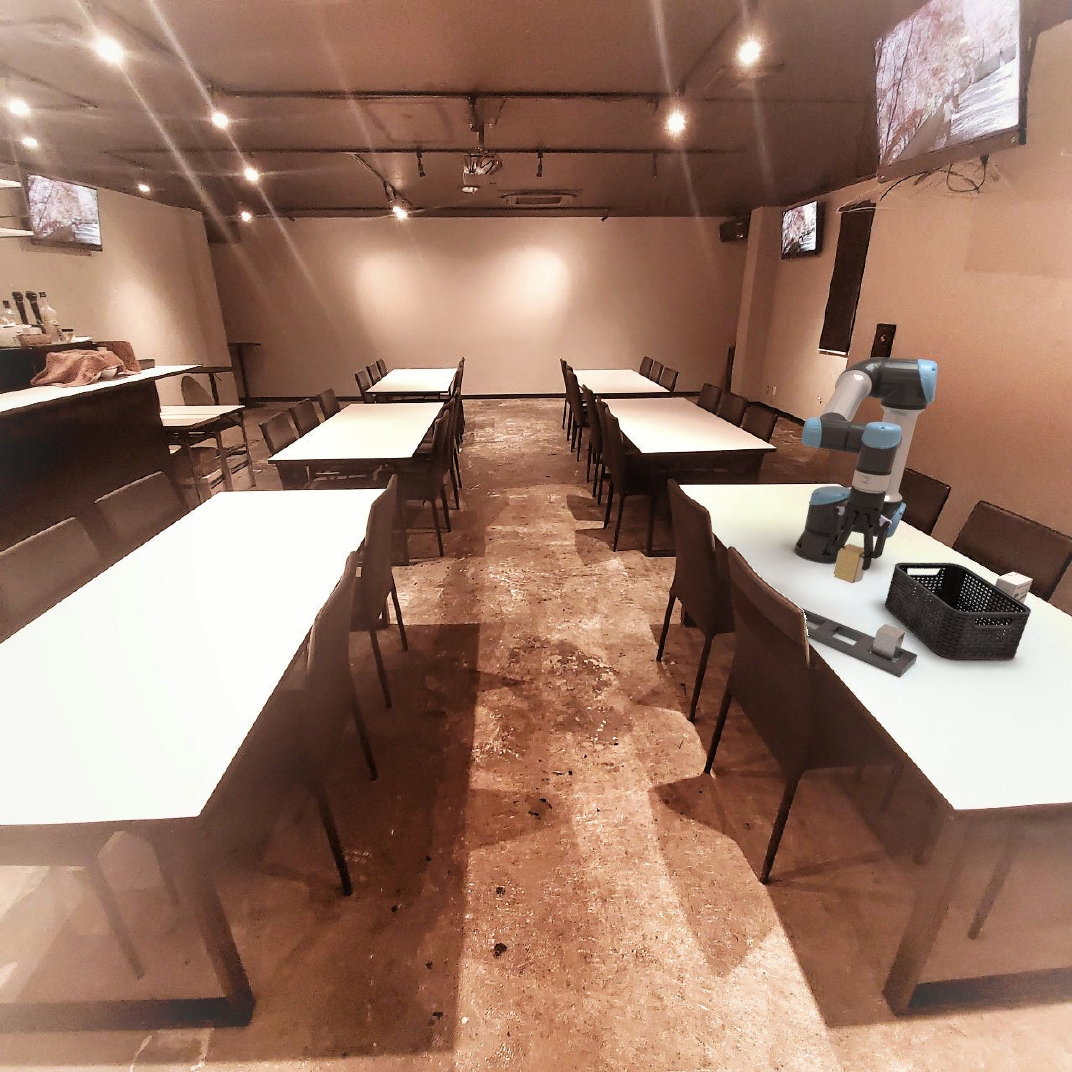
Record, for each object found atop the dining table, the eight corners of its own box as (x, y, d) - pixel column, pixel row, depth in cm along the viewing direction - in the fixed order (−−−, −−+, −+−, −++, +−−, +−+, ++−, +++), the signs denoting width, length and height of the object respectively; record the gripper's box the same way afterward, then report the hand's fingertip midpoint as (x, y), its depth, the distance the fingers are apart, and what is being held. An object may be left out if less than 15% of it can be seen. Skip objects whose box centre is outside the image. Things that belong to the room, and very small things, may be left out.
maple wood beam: (834, 576, 149) (840, 548, 146) (842, 572, 152) (849, 543, 149) (852, 583, 146) (859, 554, 143) (860, 578, 149) (868, 549, 146)
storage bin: (879, 602, 169) (890, 560, 164) (946, 603, 169) (959, 561, 164) (941, 661, 143) (957, 613, 137) (1021, 661, 143) (1040, 613, 137)
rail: (779, 624, 158) (780, 617, 157) (796, 612, 163) (798, 606, 162) (900, 676, 136) (902, 669, 136) (915, 661, 142) (917, 654, 141)
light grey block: (869, 658, 143) (877, 630, 140) (877, 651, 146) (885, 623, 143) (889, 666, 140) (897, 638, 137) (897, 659, 143) (905, 631, 140)
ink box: (1002, 623, 158) (1017, 585, 154) (983, 615, 162) (996, 577, 158) (1020, 616, 162) (1034, 578, 158) (1000, 608, 166) (1013, 571, 162)
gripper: (824, 482, 144) (806, 568, 153) (902, 501, 132) (877, 593, 140) (839, 477, 149) (820, 561, 157) (915, 495, 136) (890, 585, 145)
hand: (847, 576), depth 149 cm, fingers closed on maple wood beam, 5 cm apart
